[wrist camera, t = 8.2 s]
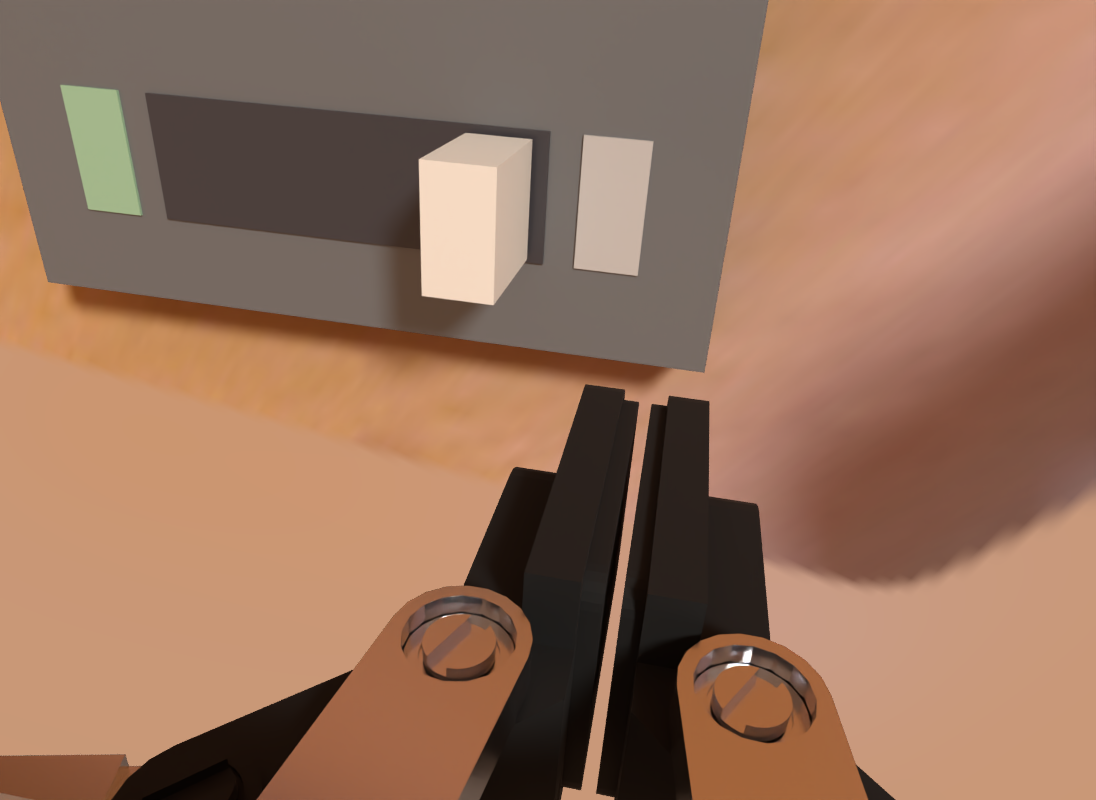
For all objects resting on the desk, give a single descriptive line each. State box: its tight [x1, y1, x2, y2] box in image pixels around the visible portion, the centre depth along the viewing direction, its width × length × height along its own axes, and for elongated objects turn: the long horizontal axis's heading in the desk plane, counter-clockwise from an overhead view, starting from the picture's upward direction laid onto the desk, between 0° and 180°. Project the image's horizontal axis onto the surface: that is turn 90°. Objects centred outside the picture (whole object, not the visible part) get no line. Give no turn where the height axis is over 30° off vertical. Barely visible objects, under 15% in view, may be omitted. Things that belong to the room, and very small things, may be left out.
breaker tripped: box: [419, 133, 532, 305], centre depth 22 cm, size 2×4×4 cm, turn 177°
